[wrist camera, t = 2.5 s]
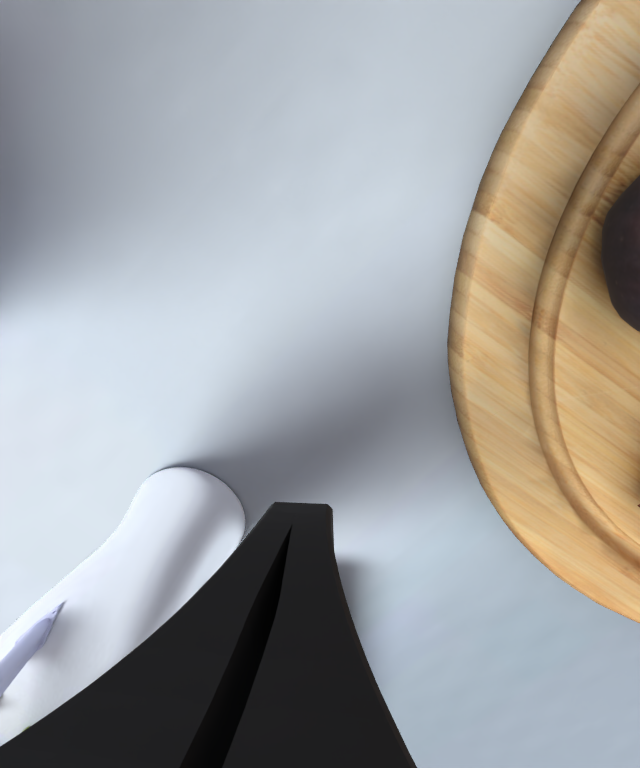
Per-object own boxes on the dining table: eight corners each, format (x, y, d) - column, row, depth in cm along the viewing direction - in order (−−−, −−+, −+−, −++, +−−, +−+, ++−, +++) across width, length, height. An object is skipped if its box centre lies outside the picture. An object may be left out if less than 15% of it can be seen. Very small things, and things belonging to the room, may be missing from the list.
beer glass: (106, 507, 24) (-251, 906, 10) (179, 433, 22) (-160, 828, 8) (201, 582, 26) (-4, 1025, 12) (280, 520, 23) (139, 987, 9)
